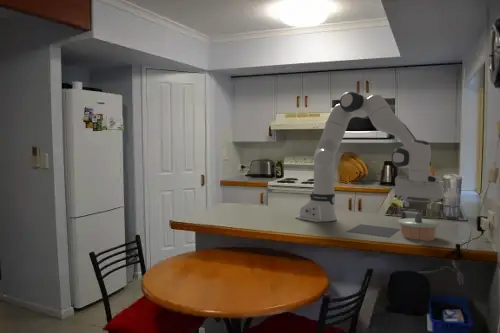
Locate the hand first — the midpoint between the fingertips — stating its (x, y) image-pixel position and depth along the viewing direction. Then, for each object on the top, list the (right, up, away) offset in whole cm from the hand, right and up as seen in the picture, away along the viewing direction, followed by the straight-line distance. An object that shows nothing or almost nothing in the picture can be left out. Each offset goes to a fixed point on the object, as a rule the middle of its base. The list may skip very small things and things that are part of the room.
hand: (417, 207), depth 184 cm
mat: (-16, -13, +12) cm, 24 cm away
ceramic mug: (+6, -12, +25) cm, 28 cm away
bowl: (+1, -13, +1) cm, 13 cm away
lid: (+1, -7, +1) cm, 8 cm away
